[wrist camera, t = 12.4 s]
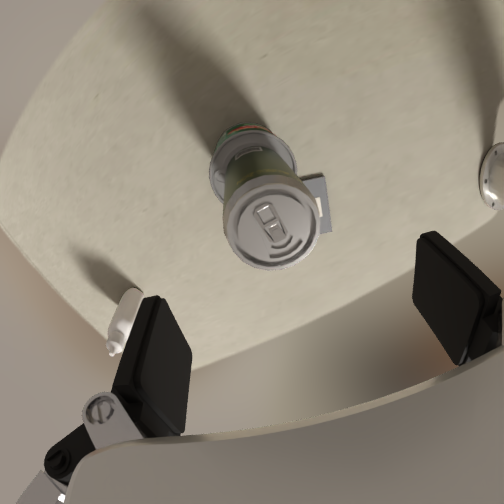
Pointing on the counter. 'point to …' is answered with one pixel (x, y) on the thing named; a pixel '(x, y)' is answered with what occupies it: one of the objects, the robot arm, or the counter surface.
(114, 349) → the eye dropper bottle
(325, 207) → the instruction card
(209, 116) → the counter surface
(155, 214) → the counter surface
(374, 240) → the counter surface
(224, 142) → the canned tomato
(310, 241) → the beer can
